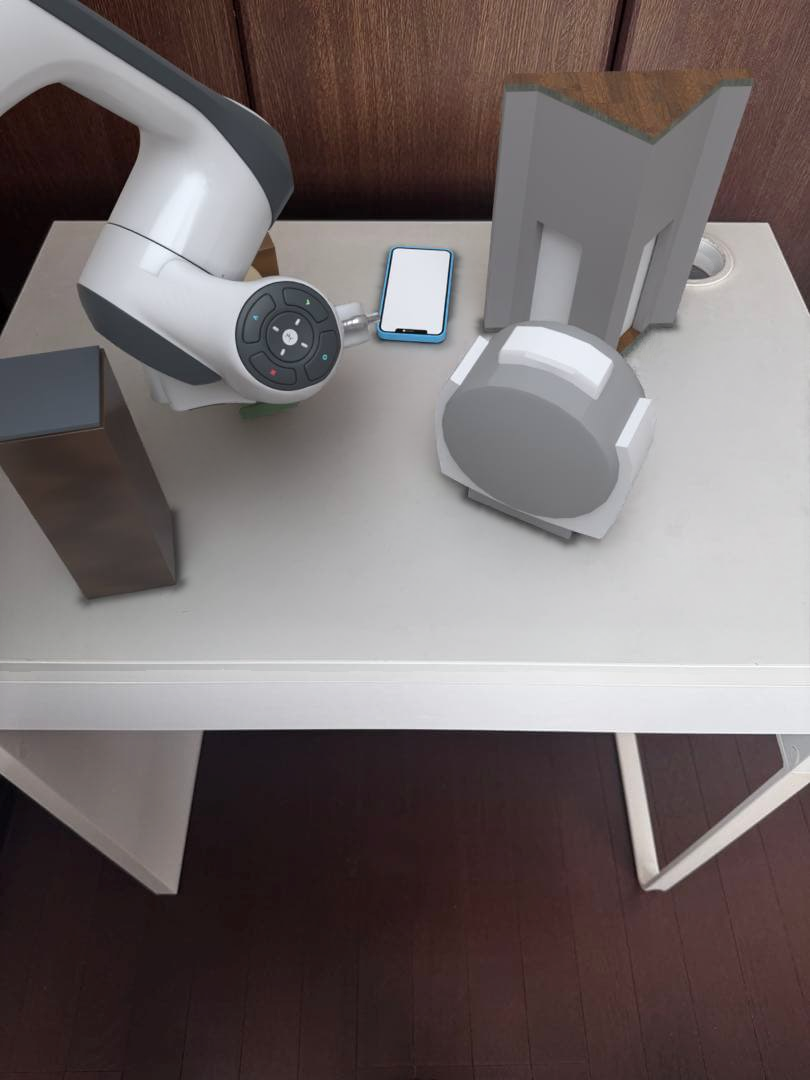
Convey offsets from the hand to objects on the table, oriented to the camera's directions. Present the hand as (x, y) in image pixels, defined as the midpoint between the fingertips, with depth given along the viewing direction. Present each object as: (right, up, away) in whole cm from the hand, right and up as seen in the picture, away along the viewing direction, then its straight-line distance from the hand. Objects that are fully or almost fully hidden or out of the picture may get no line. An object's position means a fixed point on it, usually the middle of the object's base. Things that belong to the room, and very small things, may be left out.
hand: (251, 352), depth 84 cm
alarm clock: (+27, -14, 0) cm, 30 cm away
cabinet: (+34, +2, +11) cm, 36 cm away
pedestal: (-11, -20, -3) cm, 22 cm away
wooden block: (-3, +2, +11) cm, 12 cm away
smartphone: (+16, +10, +16) cm, 25 cm away
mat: (-11, -8, -21) cm, 25 cm away
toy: (0, -3, +5) cm, 6 cm away
